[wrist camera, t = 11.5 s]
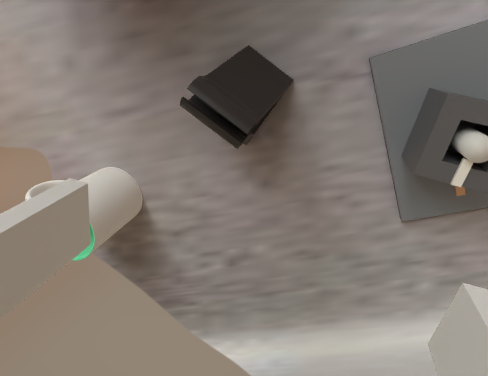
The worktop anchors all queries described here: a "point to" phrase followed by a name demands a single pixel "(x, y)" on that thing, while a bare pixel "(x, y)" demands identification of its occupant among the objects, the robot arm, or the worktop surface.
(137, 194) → the mug
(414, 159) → the gray square frame
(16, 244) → the robot arm
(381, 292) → the worktop surface
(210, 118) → the phone stand
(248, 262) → the worktop surface
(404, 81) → the panel
